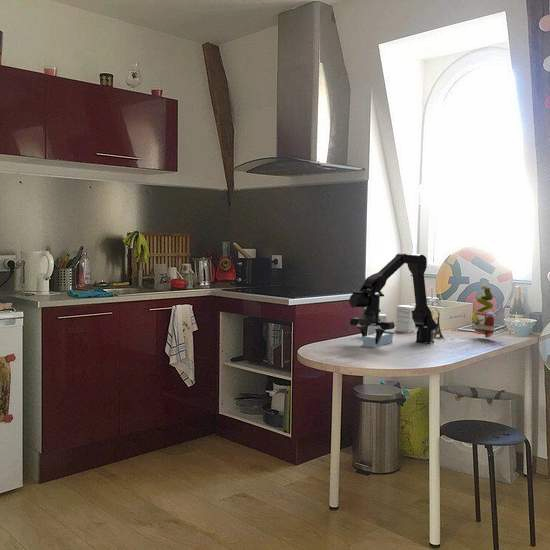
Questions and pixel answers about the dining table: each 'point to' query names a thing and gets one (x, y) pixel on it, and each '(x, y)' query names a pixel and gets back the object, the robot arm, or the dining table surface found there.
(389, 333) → the blue notched block
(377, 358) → the dining table surface
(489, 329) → the prank snake can
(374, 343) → the light blue block
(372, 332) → the small box
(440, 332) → the eiffel tower figurine
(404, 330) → the white tall block
